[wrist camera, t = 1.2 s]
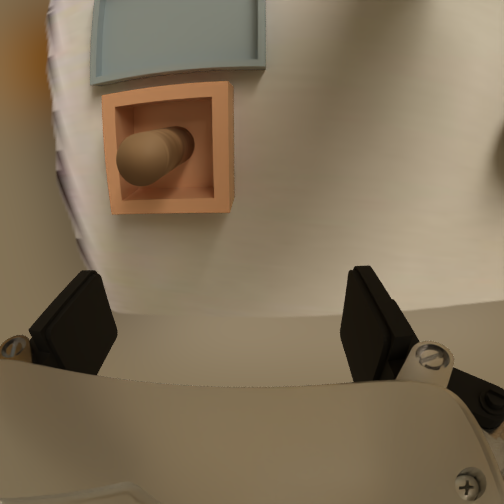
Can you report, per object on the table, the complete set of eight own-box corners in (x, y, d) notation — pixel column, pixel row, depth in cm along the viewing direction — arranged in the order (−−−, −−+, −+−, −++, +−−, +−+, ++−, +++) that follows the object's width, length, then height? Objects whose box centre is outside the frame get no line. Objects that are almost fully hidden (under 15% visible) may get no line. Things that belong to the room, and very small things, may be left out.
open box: (124, 96, 31) (101, 95, 26) (233, 86, 31) (228, 80, 25) (132, 199, 36) (111, 214, 31) (234, 196, 36) (229, 212, 31)
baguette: (156, 127, 32) (114, 135, 22) (194, 124, 32) (164, 130, 22) (158, 164, 34) (118, 187, 24) (195, 163, 34) (167, 185, 24)
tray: (105, -10, 24) (96, -15, 22) (264, -32, 24) (265, -41, 21) (99, 85, 30) (90, 85, 28) (265, 69, 30) (265, 66, 27)
